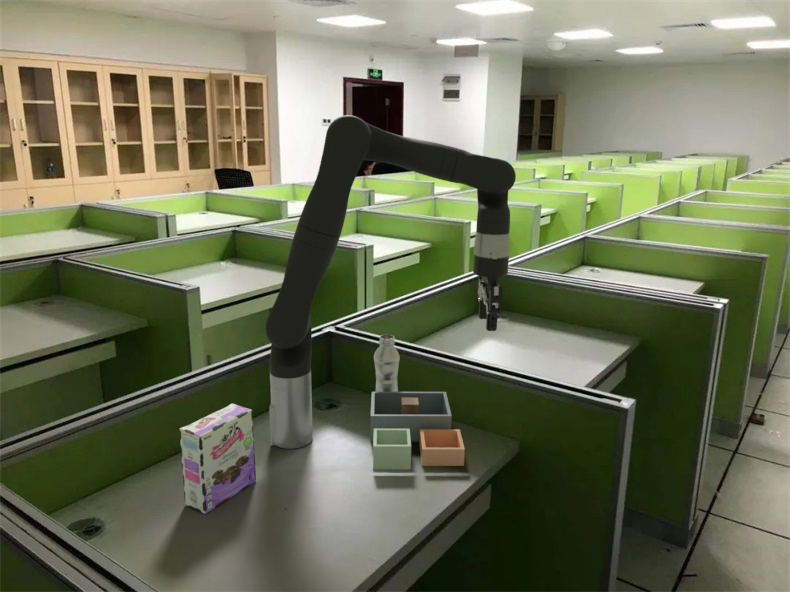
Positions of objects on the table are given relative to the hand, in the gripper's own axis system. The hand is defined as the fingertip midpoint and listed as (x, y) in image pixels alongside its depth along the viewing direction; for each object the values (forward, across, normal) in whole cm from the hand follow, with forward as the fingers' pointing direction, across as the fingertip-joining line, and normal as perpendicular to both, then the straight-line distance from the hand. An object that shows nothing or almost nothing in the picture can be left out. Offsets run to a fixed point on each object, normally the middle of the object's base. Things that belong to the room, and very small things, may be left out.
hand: (487, 324), depth 139 cm
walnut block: (+28, -6, -16) cm, 33 cm away
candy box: (+29, +20, -56) cm, 66 cm away
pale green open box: (+29, +9, -21) cm, 37 cm away
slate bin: (+29, -6, -16) cm, 33 cm away
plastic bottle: (+29, -17, -21) cm, 40 cm away
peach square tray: (+29, +8, -10) cm, 31 cm away
